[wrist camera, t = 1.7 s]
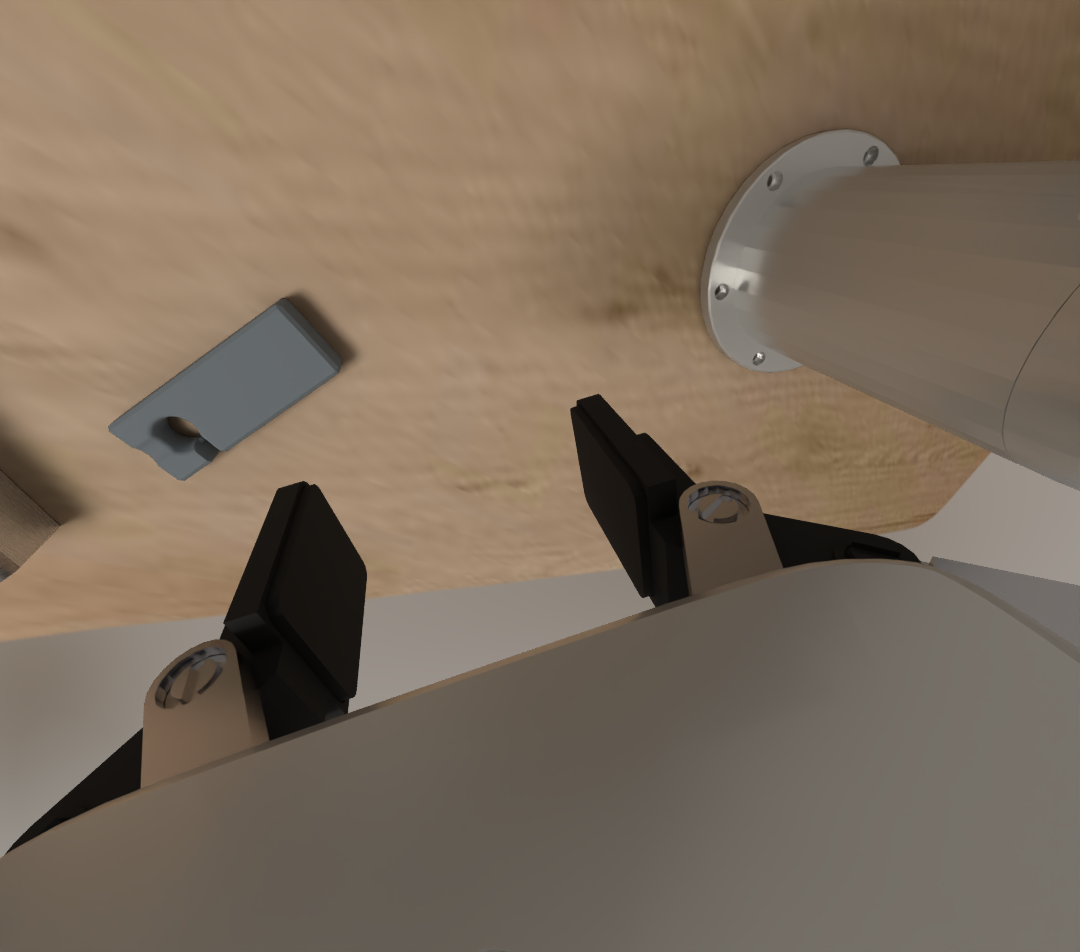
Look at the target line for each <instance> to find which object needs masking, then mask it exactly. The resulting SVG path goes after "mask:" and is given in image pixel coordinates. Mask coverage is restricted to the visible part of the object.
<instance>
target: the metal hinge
mask: <svg viewBox="0 0 1080 952" xmlns="http://www.w3.org/2000/svg"><path fill="white" fill-rule="evenodd" d="M59 527H60V525H59V524H57V523H56V522H55V521H54V520H53V519H52V518H51V517H50V516H49V515H48V514H47V513H46V512H45V511H43V510H42V509H41V508H40V507H39V506H38V505H37V504H36V503H35V502H34V501H33V500H32V499H31V498H29V497H28V496H27V495H26V494H25V493H24V492H23V491H22V490H21V489H20V488H19V487H18V486H17V485H15V484H14V483H13V482H12V481H11V480H10V479H9V478H8V477H7V476H6V475H5V474H4V473H2V472H1V471H0V582H1V581H3V580H4V579H6V578H7V577H9V576H10V575H12V574H13V573H14V572H15V571H17V570H18V569H19V568H20V567H21V566H22V565H23V564H24V563H25V562H26V561H27V560H28V559H29V558H30V557H31V556H32V555H33V554H34V553H35V552H36V551H37V550H38V549H39V548H40V547H41V545H42V544H43V543H44V542H45V541H46V540H47V539H48V538H49V537H50V536H51V535H52V534H53V533H54V532H55V531H56V530H57V529H58V528H59Z"/></svg>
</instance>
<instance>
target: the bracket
mask: <svg viewBox="0 0 1080 952" xmlns="http://www.w3.org/2000/svg"><path fill="white" fill-rule="evenodd" d="M341 365H342V359H341V357H340V356H339V355H338V354H337V353H336V352H335V351H334V350H333V349H332V348H331V346H330V345H329V344H328V343H327V342H326V341H325V340H324V339H323V338H322V337H321V335H320V334H319V333H318V332H317V331H316V330H315V329H314V328H313V327H312V326H311V324H310V323H309V322H308V321H307V320H306V319H305V318H304V317H303V316H302V315H301V313H300V312H299V311H298V310H297V309H296V308H295V307H294V306H293V305H292V304H291V303H290V301H289V300H287V299H280V300H279V301H277V302H276V303H275V304H273V305H272V306H271V307H269V308H268V309H266V310H265V311H264V312H262V313H261V314H260V315H258V316H257V317H255V318H254V319H253V320H251V321H250V322H249V323H247V324H246V325H245V326H243V327H242V328H240V329H239V330H238V331H236V332H235V333H234V334H232V335H231V336H229V337H228V338H227V339H225V340H224V341H223V342H221V343H220V344H218V345H217V346H216V347H214V348H213V349H212V350H210V351H209V352H207V353H206V354H205V355H203V356H202V357H201V358H199V359H198V360H196V361H195V362H194V363H192V364H191V365H190V366H188V367H187V368H186V369H184V370H183V371H181V372H180V373H179V374H177V375H176V376H175V377H173V378H172V379H170V380H169V381H168V382H166V383H165V384H164V385H162V386H161V387H159V388H158V389H157V390H155V391H154V392H153V393H151V394H150V395H148V396H147V397H146V398H144V399H143V400H142V401H140V402H139V403H138V404H136V405H135V406H133V407H132V408H131V409H129V410H128V411H127V412H125V413H124V414H122V415H121V416H120V417H119V418H117V419H116V420H115V421H114V422H113V423H111V424H110V425H109V426H108V429H109V432H111V433H112V434H113V435H115V436H116V437H118V438H119V439H121V440H122V441H123V442H125V443H126V444H128V445H129V446H131V447H132V448H136V449H138V450H141V451H143V452H145V453H146V454H148V455H149V456H150V457H152V458H153V459H154V461H155V462H156V463H157V465H158V466H159V467H161V468H162V469H163V470H165V471H166V472H168V473H169V474H170V475H172V476H173V477H175V478H176V479H178V480H183V481H185V480H186V479H188V478H189V477H191V476H192V475H193V474H195V473H196V472H198V471H199V470H201V469H202V468H203V467H205V466H206V465H208V464H209V463H211V462H212V461H213V459H214V458H215V456H216V455H217V454H218V452H219V450H220V451H228V450H229V449H231V448H232V447H233V446H235V445H236V444H238V443H239V442H241V441H242V440H243V439H245V438H246V437H248V436H249V435H251V434H252V433H253V432H255V431H256V430H258V429H259V428H261V427H262V426H263V425H265V424H266V423H268V422H269V421H271V420H272V419H273V418H275V417H276V416H278V415H279V414H281V413H282V412H283V411H285V410H286V409H288V408H289V407H291V406H292V405H293V404H295V403H296V402H298V401H299V400H301V399H302V398H303V397H305V396H306V395H308V394H309V393H311V392H312V391H314V390H315V389H316V388H318V387H319V386H321V385H322V384H324V383H325V382H326V381H328V380H329V379H331V378H332V377H334V376H335V375H336V374H338V373H339V371H340V369H341ZM169 416H174V417H180V418H183V419H185V420H187V421H189V422H191V423H192V424H193V425H194V426H195V427H196V428H197V429H198V431H199V433H200V434H201V436H198V437H186V436H183V435H180V434H178V433H177V432H175V431H174V430H173V429H172V428H171V427H170V425H169V423H168V417H169Z"/></svg>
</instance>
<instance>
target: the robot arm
mask: <svg viewBox="0 0 1080 952" xmlns="http://www.w3.org/2000/svg"><path fill="white" fill-rule="evenodd" d="M700 299H701V308H702V316H703V320H704V323H705V326H706V329H707V332H708V334H709V336H710V337H711V339H712V341H713V342H714V344H715V346H716V347H717V348H718V349H719V350H720V351H721V352H722V353H723V354H724V355H725V356H726V357H727V358H729V359H730V360H732V361H734V362H735V363H737V364H739V365H740V366H742V367H745V368H747V369H750V370H752V371H758V372H766V373H774V372H783V371H788V370H792V369H795V368H798V367H802V366H804V365H805V366H807V367H809V368H811V369H813V370H816V371H818V372H820V373H822V374H824V375H826V376H828V377H831V378H833V379H835V380H837V381H839V382H841V383H844V384H846V385H848V386H850V387H852V388H854V389H856V390H859V391H861V392H863V393H865V394H867V395H869V396H871V397H874V398H876V399H878V400H880V401H882V402H884V403H887V404H889V405H891V406H893V407H895V408H897V409H899V410H902V411H904V412H906V413H908V414H910V415H912V416H915V417H917V418H919V419H921V420H923V421H925V422H927V423H930V424H932V425H934V426H936V427H938V428H940V429H943V430H945V431H947V432H949V433H951V434H953V435H955V436H958V437H960V438H962V439H964V440H966V441H968V442H970V443H973V444H975V445H977V446H979V447H981V448H983V449H986V450H988V451H990V452H992V453H994V454H997V455H999V456H1001V457H1003V458H1006V459H1008V460H1010V461H1012V462H1014V463H1017V464H1019V465H1021V466H1024V467H1026V468H1028V469H1030V470H1032V471H1035V472H1037V473H1039V474H1041V475H1043V476H1045V477H1048V478H1050V479H1052V480H1054V481H1057V482H1059V483H1061V484H1064V485H1066V486H1069V487H1071V488H1074V489H1077V490H1080V160H1066V161H1030V162H994V163H958V164H922V165H901V164H900V162H899V160H898V158H897V156H896V154H895V153H894V152H893V151H892V150H891V149H890V148H889V147H888V146H887V145H886V143H885V142H884V141H882V140H880V139H879V138H877V137H875V136H873V135H871V134H869V133H867V132H862V131H856V130H850V129H844V130H833V131H824V132H820V133H816V134H812V135H808V136H804V137H802V138H800V139H798V140H796V141H794V142H792V143H790V144H788V145H786V146H784V147H783V148H781V149H780V150H779V151H777V152H776V153H775V154H773V155H772V156H771V157H769V158H768V159H767V160H765V161H764V162H763V163H762V164H761V165H760V166H759V167H758V168H757V169H756V170H755V171H754V172H753V173H752V174H751V175H750V176H749V177H748V178H747V179H746V180H745V181H744V182H743V184H742V185H741V187H740V188H739V189H738V191H737V192H736V194H735V195H734V196H733V198H732V199H731V200H730V202H729V203H728V205H727V207H726V209H725V211H724V212H723V214H722V216H721V218H720V220H719V222H718V224H717V226H716V227H715V230H714V233H713V235H712V238H711V241H710V244H709V246H708V249H707V252H706V256H705V261H704V266H703V270H702V275H701V293H700ZM570 412H571V419H572V424H573V430H574V436H575V442H576V447H577V453H578V459H579V465H580V470H581V476H582V482H583V488H584V493H585V497H586V500H587V503H588V505H589V507H590V509H591V510H592V512H593V514H594V516H595V517H596V519H597V521H598V523H599V524H600V526H601V528H602V530H603V531H604V533H605V535H606V537H607V538H608V540H609V542H610V544H611V545H612V547H613V549H614V551H615V553H616V554H617V556H618V558H619V560H620V561H621V563H622V565H623V567H624V568H625V570H626V572H627V574H628V575H629V577H630V579H631V580H632V582H633V584H634V586H635V588H636V589H637V591H638V593H639V595H640V596H641V597H642V598H645V597H647V596H649V597H650V599H651V600H652V602H653V604H654V605H655V608H652V609H650V610H647V611H644V612H641V613H638V614H635V615H632V616H629V617H626V618H623V619H620V620H617V621H614V622H611V623H608V624H606V625H602V626H600V627H597V628H594V629H591V630H588V631H585V632H582V633H579V634H576V635H573V636H570V637H567V638H564V639H561V640H559V641H556V642H553V643H550V644H547V645H544V646H541V647H538V648H535V649H532V650H529V651H527V652H523V653H521V654H518V655H515V656H512V657H509V658H506V659H503V660H500V661H497V662H494V663H491V664H489V665H486V666H483V667H480V668H477V669H474V670H472V671H469V672H466V673H462V674H460V675H457V676H454V677H451V678H448V679H445V680H442V681H439V682H437V683H434V684H431V685H428V686H425V687H422V688H419V689H416V690H414V691H411V692H408V693H405V694H402V695H399V696H396V697H393V698H390V699H388V700H385V701H382V702H379V703H376V704H374V705H371V706H368V707H365V708H362V709H359V710H356V711H353V712H351V713H348V706H349V699H350V698H353V697H355V695H356V691H357V681H358V670H359V659H360V647H361V637H362V626H363V615H364V603H365V593H366V582H367V571H366V567H365V564H364V562H363V561H362V559H361V557H360V555H359V554H358V552H357V550H356V549H355V547H354V545H353V544H352V542H351V540H350V539H349V537H348V535H347V534H346V532H345V530H344V529H343V527H342V525H341V524H340V522H339V520H338V519H337V517H336V515H335V514H334V512H333V510H332V509H331V507H330V505H329V504H328V502H327V500H326V498H325V497H324V495H323V493H322V492H321V490H320V489H319V487H318V486H317V485H315V484H313V485H309V484H308V483H307V482H305V481H302V482H299V483H295V484H292V485H288V486H285V487H282V488H278V490H277V491H276V494H275V496H274V499H273V501H272V504H271V506H270V509H269V511H268V514H267V516H266V519H265V521H264V524H263V526H262V529H261V531H260V533H259V536H258V538H257V541H256V543H255V546H254V548H253V551H252V553H251V556H250V558H249V561H248V563H247V566H246V568H245V571H244V573H243V575H242V578H241V580H240V583H239V585H238V588H237V590H236V593H235V595H234V598H233V600H232V603H231V605H230V608H229V610H228V613H227V615H226V617H225V620H224V622H223V623H224V624H225V627H224V629H223V632H222V634H221V637H220V639H219V640H217V639H216V640H211V641H208V642H204V643H201V644H199V645H197V646H195V647H193V648H191V649H189V650H188V651H186V652H185V653H183V654H182V655H180V656H179V657H177V658H176V659H175V660H174V661H173V662H171V663H170V664H169V665H168V666H167V667H166V668H165V669H164V670H163V671H162V672H161V673H160V674H159V676H158V677H157V678H156V679H155V680H154V682H153V684H152V685H151V687H150V689H149V691H148V692H147V695H146V699H145V703H144V718H143V719H144V720H143V728H142V729H141V730H140V731H138V732H137V733H136V734H135V735H134V736H133V737H132V738H130V739H129V740H128V741H127V742H126V743H125V744H124V745H122V746H121V747H120V748H119V749H118V750H117V751H116V752H115V753H113V754H112V755H111V756H110V757H109V758H108V759H107V760H106V761H105V762H103V763H102V764H101V765H100V766H99V767H98V768H96V769H95V770H94V771H93V772H92V773H91V774H90V775H89V776H87V777H86V778H85V779H84V780H83V781H82V782H81V783H80V784H78V785H77V786H76V787H75V788H74V789H73V790H72V791H70V792H69V793H68V794H67V795H66V796H65V797H64V798H62V799H61V800H60V801H59V802H58V803H57V804H56V805H55V806H53V807H52V808H51V809H50V810H49V811H48V812H47V813H46V814H44V815H43V816H42V817H41V818H40V819H39V820H38V821H37V822H35V823H34V824H33V825H32V826H31V827H30V828H29V829H28V830H27V831H26V832H25V833H24V834H23V835H22V836H21V837H20V838H19V839H18V840H17V841H16V842H15V843H14V844H13V845H12V847H11V848H10V849H9V850H8V851H7V853H6V854H5V855H4V856H3V857H1V858H0V952H1080V586H1078V585H1073V584H1068V583H1063V582H1058V581H1053V580H1048V579H1043V578H1038V577H1033V576H1028V575H1023V574H1018V573H1013V572H1008V571H1003V570H998V569H993V568H988V567H983V566H978V565H973V564H968V563H963V562H958V561H953V560H948V559H942V558H938V557H932V559H931V561H930V563H927V562H922V561H920V560H919V559H918V558H917V557H916V555H915V554H914V553H913V552H911V551H910V550H908V549H907V548H906V547H904V546H903V545H901V544H899V543H897V542H895V541H893V540H890V539H888V538H885V537H881V536H878V535H874V534H870V533H864V532H859V531H854V530H849V529H843V528H838V527H833V526H827V525H822V524H817V523H812V522H806V521H801V520H796V519H790V518H785V517H780V516H775V515H769V514H764V513H763V512H762V509H761V506H760V504H759V501H758V500H757V498H756V496H755V495H754V494H753V493H752V492H751V491H749V490H748V489H747V488H745V487H743V486H741V485H738V484H736V483H731V482H727V481H707V482H701V483H698V484H695V483H694V482H693V481H692V480H691V479H690V477H689V476H688V475H687V474H686V473H685V472H684V471H683V470H682V469H681V468H680V467H679V466H678V465H677V464H676V463H675V462H674V461H673V460H672V459H671V458H670V457H669V456H668V455H667V454H666V452H665V451H664V450H663V449H662V448H661V447H660V446H659V445H658V444H657V443H656V442H655V441H654V440H653V439H652V438H651V437H650V436H649V435H648V434H646V433H642V434H638V435H636V434H635V433H634V432H633V430H632V429H631V428H630V427H629V426H628V425H627V424H626V423H625V422H624V421H623V419H622V418H621V417H620V416H619V415H618V414H617V413H616V412H615V411H614V410H613V408H612V407H611V406H610V405H609V404H608V403H607V402H606V401H605V400H604V399H603V398H602V396H601V395H599V394H597V395H593V396H590V397H586V398H583V399H580V400H577V406H576V407H573V408H571V409H570Z"/></svg>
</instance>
